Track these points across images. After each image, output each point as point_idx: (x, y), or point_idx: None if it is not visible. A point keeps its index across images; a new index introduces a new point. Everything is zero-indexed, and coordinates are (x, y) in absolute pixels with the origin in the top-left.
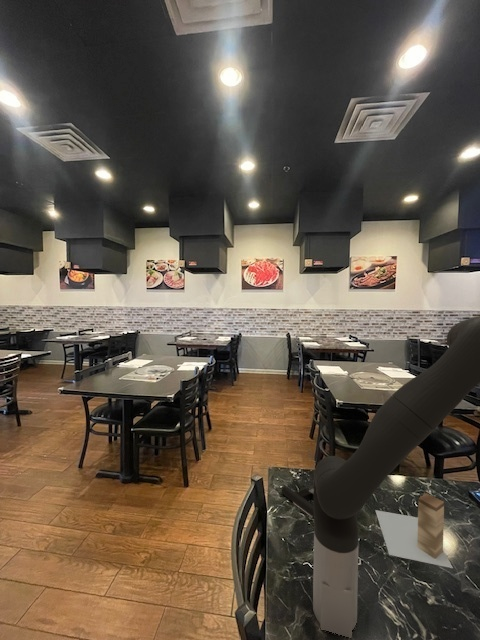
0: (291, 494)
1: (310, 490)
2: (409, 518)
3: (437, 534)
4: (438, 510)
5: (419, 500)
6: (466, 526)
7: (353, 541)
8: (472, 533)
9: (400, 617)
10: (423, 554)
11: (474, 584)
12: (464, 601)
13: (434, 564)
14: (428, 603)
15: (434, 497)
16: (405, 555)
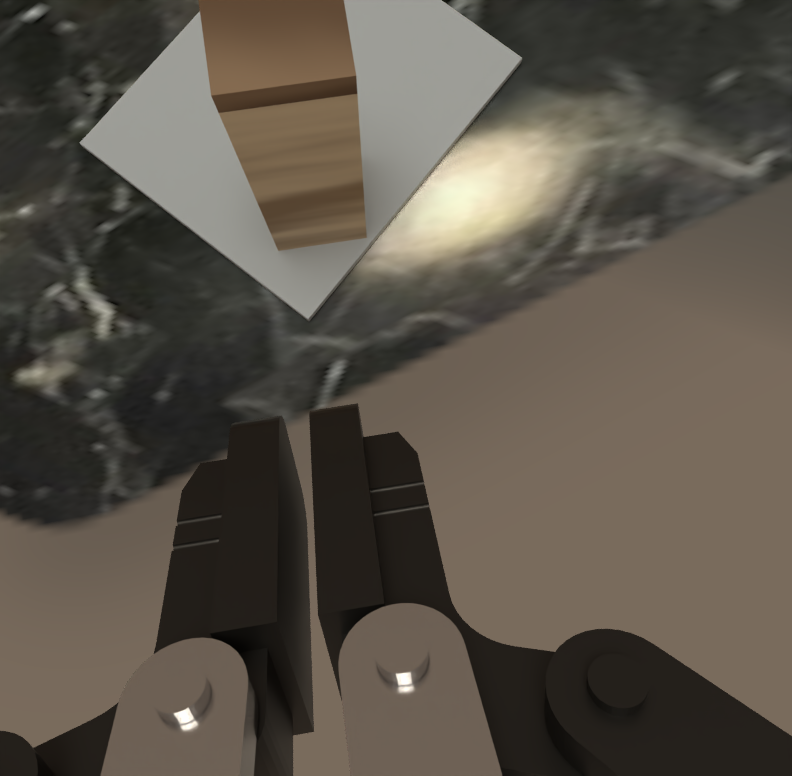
0: None
1: None
2: (431, 19)
3: (278, 195)
4: (256, 110)
5: None
6: (701, 179)
7: None
8: (675, 222)
9: None
10: (248, 209)
11: (322, 408)
12: (180, 438)
13: (242, 268)
14: (16, 379)
15: (340, 9)
16: (155, 177)
